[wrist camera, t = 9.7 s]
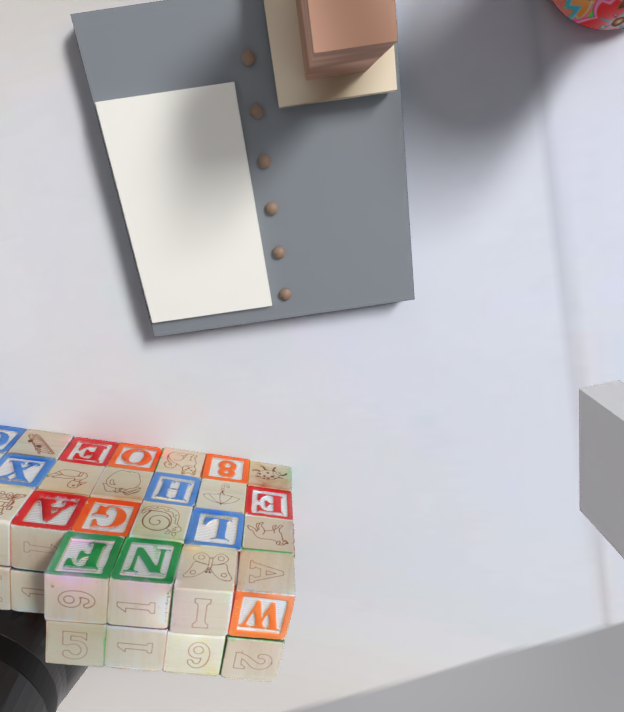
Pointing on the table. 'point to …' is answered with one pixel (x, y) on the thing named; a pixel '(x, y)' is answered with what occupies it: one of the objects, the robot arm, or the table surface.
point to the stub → (331, 49)
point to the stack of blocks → (147, 554)
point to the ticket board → (242, 171)
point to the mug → (594, 12)
